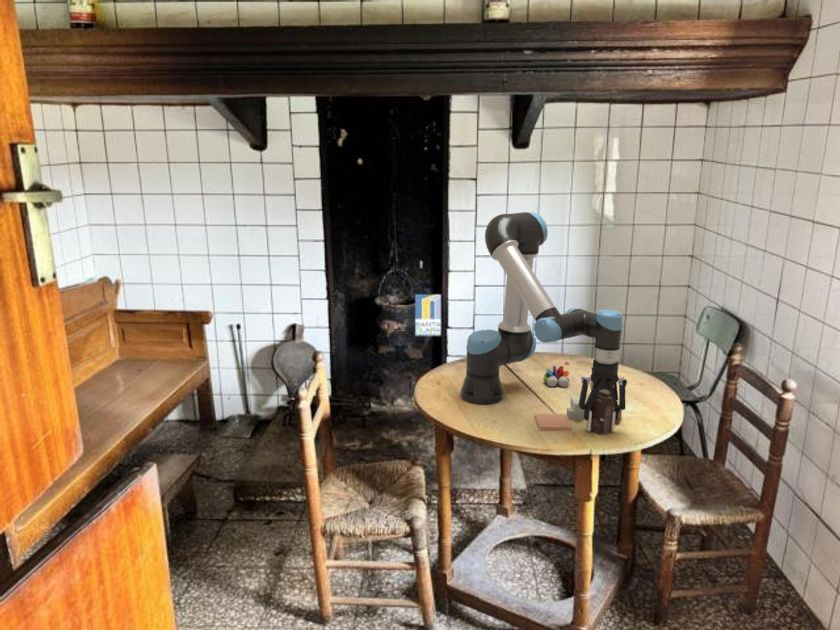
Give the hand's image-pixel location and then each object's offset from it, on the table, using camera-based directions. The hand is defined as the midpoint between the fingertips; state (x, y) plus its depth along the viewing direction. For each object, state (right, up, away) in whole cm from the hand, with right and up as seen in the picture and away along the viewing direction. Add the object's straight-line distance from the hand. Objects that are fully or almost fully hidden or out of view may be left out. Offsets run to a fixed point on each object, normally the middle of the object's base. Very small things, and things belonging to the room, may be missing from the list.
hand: (599, 429), depth 201 cm
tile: (-14, +1, +5) cm, 15 cm away
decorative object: (+7, +6, +26) cm, 28 cm away
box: (0, -1, 0) cm, 1 cm away
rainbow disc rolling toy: (-5, +10, +39) cm, 41 cm away
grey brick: (-5, +2, +10) cm, 11 cm away
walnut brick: (+7, +1, +8) cm, 11 cm away
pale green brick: (-5, +5, +9) cm, 12 cm away
